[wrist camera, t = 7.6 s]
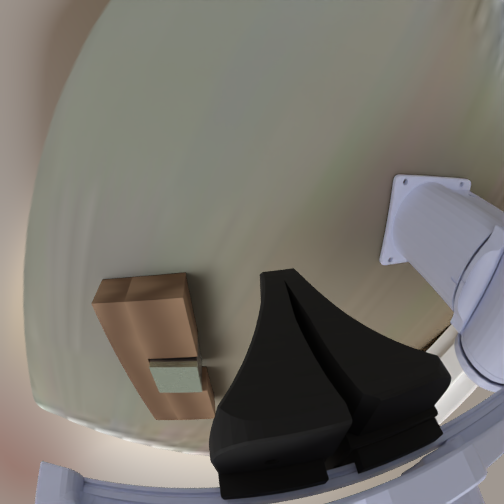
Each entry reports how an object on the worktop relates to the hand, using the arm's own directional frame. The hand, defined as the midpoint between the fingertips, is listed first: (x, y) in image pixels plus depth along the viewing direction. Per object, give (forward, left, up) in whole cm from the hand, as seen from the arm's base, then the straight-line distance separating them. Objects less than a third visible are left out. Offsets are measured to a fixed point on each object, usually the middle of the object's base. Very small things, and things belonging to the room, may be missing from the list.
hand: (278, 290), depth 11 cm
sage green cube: (+7, +13, -10) cm, 18 cm away
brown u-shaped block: (+8, +14, -9) cm, 19 cm away
